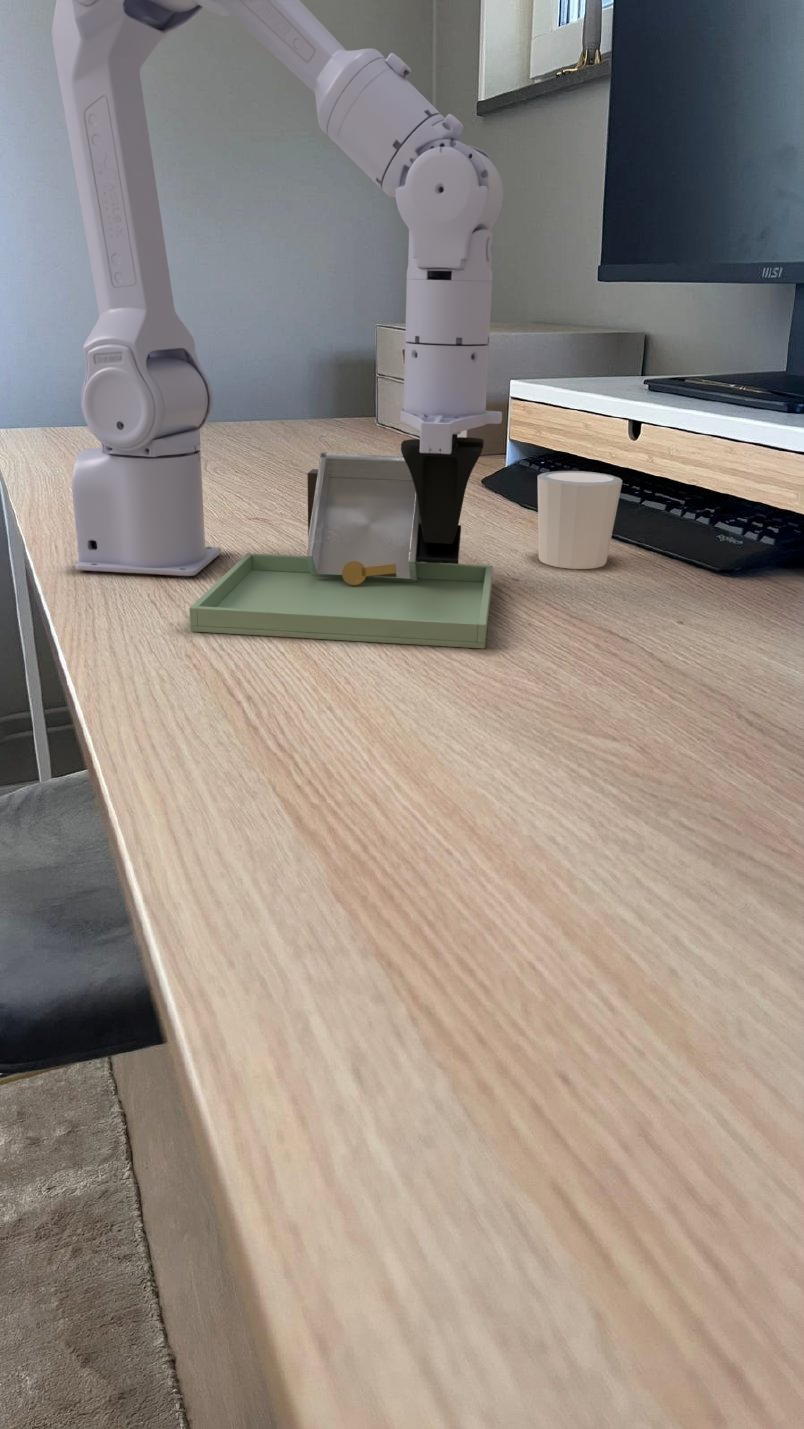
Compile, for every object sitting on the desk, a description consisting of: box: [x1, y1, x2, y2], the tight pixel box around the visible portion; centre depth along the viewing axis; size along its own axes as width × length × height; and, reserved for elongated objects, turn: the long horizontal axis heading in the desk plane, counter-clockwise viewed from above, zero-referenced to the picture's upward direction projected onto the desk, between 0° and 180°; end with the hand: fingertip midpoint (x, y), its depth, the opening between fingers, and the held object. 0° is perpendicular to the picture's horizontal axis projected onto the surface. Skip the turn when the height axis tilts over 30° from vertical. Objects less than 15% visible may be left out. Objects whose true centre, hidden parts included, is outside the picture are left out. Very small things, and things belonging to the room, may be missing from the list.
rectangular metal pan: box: [305, 452, 462, 582], centre depth 77 cm, size 11×9×3 cm
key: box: [342, 561, 396, 586], centre depth 76 cm, size 4×2×1 cm
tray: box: [188, 552, 494, 650], centre depth 72 cm, size 19×15×2 cm
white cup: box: [537, 470, 623, 570], centre depth 86 cm, size 7×7×7 cm
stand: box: [307, 468, 429, 563], centre depth 81 cm, size 10×2×8 cm, turn 84°
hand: (439, 541), depth 75 cm, fingers closed
